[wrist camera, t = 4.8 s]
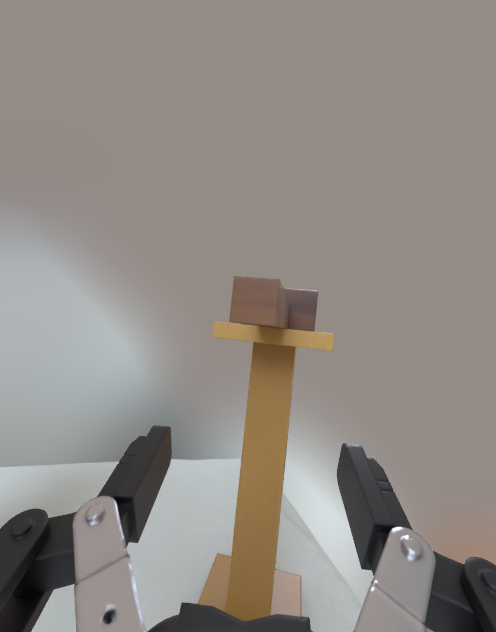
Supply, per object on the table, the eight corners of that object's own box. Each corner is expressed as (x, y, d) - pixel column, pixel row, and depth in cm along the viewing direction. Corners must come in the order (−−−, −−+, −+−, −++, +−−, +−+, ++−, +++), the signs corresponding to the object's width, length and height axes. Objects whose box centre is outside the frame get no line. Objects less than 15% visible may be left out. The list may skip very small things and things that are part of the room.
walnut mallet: (249, 325, 36) (252, 291, 36) (312, 332, 34) (315, 296, 34) (184, 317, 16) (192, 242, 16) (326, 331, 14) (334, 248, 14)
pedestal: (218, 558, 38) (242, 325, 39) (300, 581, 35) (323, 333, 37) (175, 674, 25) (213, 321, 26) (298, 721, 23) (334, 333, 24)
